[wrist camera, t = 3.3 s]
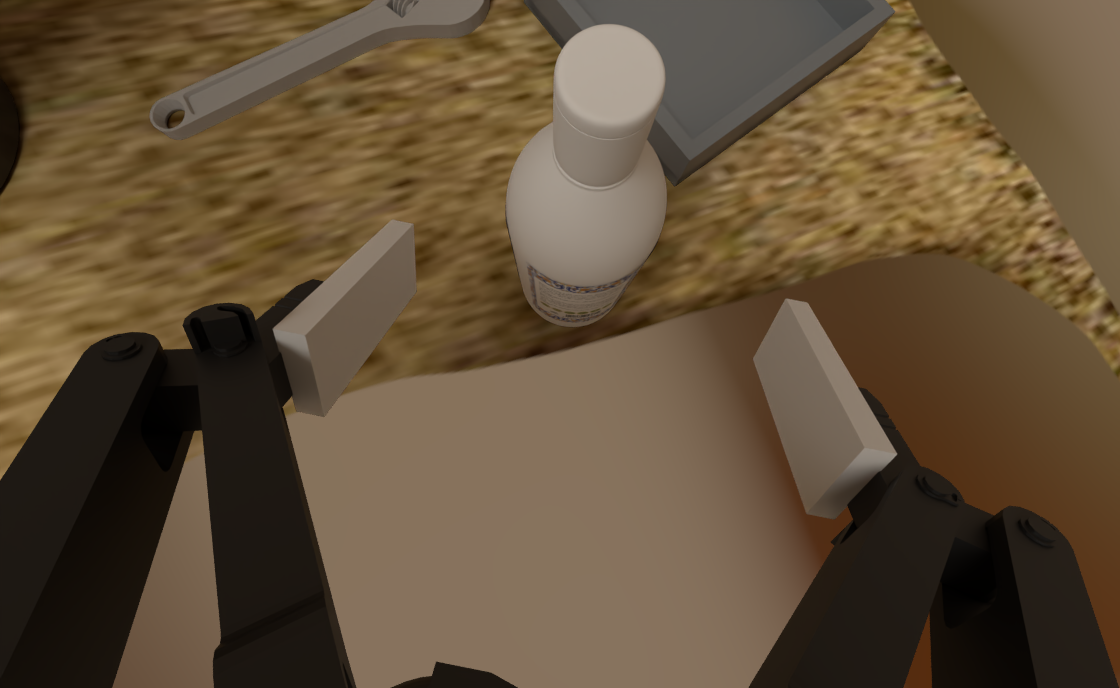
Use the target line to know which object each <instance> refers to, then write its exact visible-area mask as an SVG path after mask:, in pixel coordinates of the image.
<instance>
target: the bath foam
mask: <svg viewBox="0 0 1120 688" xmlns="http://www.w3.org/2000/svg"><path fill="white" fill-rule="evenodd" d="M665 82H666V76H665V67H664V63H663V60H662V58H661V55H660V54H659V52H658V50H657V49H656V47H655V46H654V45H653V44H652V42H651V41H650V40H649V39H647V38H646V37H645V36H644V35H642V34H641V33H639V32H638V31H636V30H634V29H631V28H629V27H626V26H622V25H616V24H602V25H596V26H593V27H590V28H587V29H585V30H583V31H581V32H579V33H577V34H576V35H575V36H573V37H572V38H571V39H570V40H569V41H568V42H567V43H566V45H565V46H564V47H563V49H562V51H561V53H560V55H559V57H558V59H557V62H556V66H555V71H554V95H553V122H552V123H550V124H548V125H547V126H545V127H544V128H543V129H541V130H540V131H539V132H538V133H537V134H536V135H535V136H534V137H533V138H532V139H531V140H530V141H529V142H528V143H527V145H526V146H525V147H524V149H523V150H522V152H521V153H520V155H519V157H518V159H517V160H516V163H515V165H514V167H513V170H512V172H511V175H510V179H509V183H508V188H507V195H506V224H507V228H508V232H509V236H510V240H511V245H512V249H513V253H514V257H515V261H516V266H517V270H518V274H519V276H520V280H521V285H522V288H523V292H524V295H525V297H526V299H527V301H528V303H529V304H530V306H531V307H532V308H533V309H534V311H535V312H536V313H538V314H539V315H540V316H541V317H542V318H544V319H545V320H547V321H549V322H551V323H554V324H556V325H560V326H565V327H580V326H585V325H589V324H591V323H594V322H596V321H598V320H599V319H601V318H602V317H604V316H605V315H606V314H607V313H608V312H609V311H610V310H611V309H612V308H613V307H614V305H615V304H616V303H617V301H618V300H619V299H620V297H621V296H622V294H623V293H624V292H625V290H626V289H627V287H628V286H629V284H630V283H631V281H632V280H633V279H634V277H635V276H636V274H637V273H638V271H639V270H640V269H641V267H642V266H643V264H644V263H645V261H646V260H647V258H648V257H649V256H650V254H651V253H652V251H653V249H654V248H655V246H656V244H657V242H658V239H659V237H660V234H661V231H662V228H663V224H664V220H665V215H666V207H667V188H666V181H665V176H664V172H663V169H662V166H661V163H660V161H659V159H658V156H657V154H656V152H655V151H654V149H653V147H652V146H651V144H650V143H649V142H648V140H647V138H648V135H649V132H650V130H651V127H652V124H653V122H654V119H655V116H656V114H657V111H658V108H659V106H660V103H661V100H662V97H663V94H664V89H665Z"/></svg>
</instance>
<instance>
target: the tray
mask: <svg viewBox="0 0 1120 688" xmlns="http://www.w3.org/2000/svg"><path fill="white" fill-rule="evenodd" d="M524 3H525V4H526V5H527V6H528V8H529V9H530V10H531V11H532V13H533V14H534V15H535V16H536V17H537V19H538V20H539V21H540V22H541V24H542V25H543V26H544V27H545V28H546V30H547V31H548V32H549V33H550V35H551V36H552V37H553V38H554V39H555V41H556V42H557V43H558V44H559V46H560V47H561V48H562V49H563V47H564V46H565V45H566V43H567V42H568V41H569V40H570V39H571V38H572V37H573V36H575V35H576V34H577V33H579V32H581V31H583V30H585V29H587V28H590V27H593V26H596V25H602V24H616V25H622V26H626V27H629V28H631V29H634V30H636V31H638V32H639V33H641V34H642V35H644V36H645V37H646V38H647V39H649V40H650V41H651V42H652V44H653V45H654V46H655V47H656V49H657V50H658V52H659V54H660V55H661V58H662V60H663V63H664V67H665V76H666V82H665V89H664V94H663V97H662V100H661V103H660V106H659V108H658V111H657V114H656V116H655V119H654V122H653V124H652V127H651V130H650V132H649V135H648V138H647V140H648V142H649V143H650V144H651V146H652V147H653V149H654V151H655V152H656V154H657V156H658V159H659V161H660V163H661V166H662V169H663V172H664V174H665V175H666V176H667V178H668V179H669V180H670V181H671V183H672V184H673V185H674V186H676V185H677V184H679V183H680V182H681V181H683V180H684V179H686V178H687V177H688V176H690V175H691V174H692V173H694V172H695V171H697V170H698V169H699V168H701V167H702V166H703V165H705V164H706V163H708V162H709V161H710V160H712V159H713V158H714V157H716V156H717V155H718V154H720V153H721V152H723V151H724V150H725V149H727V148H728V147H729V146H731V145H732V144H734V143H735V142H736V141H738V140H739V139H740V138H742V137H743V136H745V135H746V134H747V133H749V132H750V131H751V130H753V129H754V128H756V127H757V126H758V125H760V124H761V123H762V122H764V121H765V120H766V119H768V118H769V117H771V116H772V115H773V114H775V113H776V112H777V111H779V110H780V109H782V108H783V107H784V106H786V105H787V104H788V103H790V102H791V101H793V100H794V99H795V98H797V97H798V96H799V95H801V94H802V93H804V92H805V91H806V90H808V89H809V88H810V87H812V86H813V85H814V84H816V83H817V82H819V81H820V80H821V79H823V78H824V77H825V76H827V75H828V74H830V73H831V72H832V71H834V70H835V69H836V68H838V67H839V66H841V65H842V64H843V63H845V62H846V61H847V60H849V59H850V58H852V57H853V56H854V55H856V54H857V53H858V52H860V51H861V50H862V49H863V47H864V46H865V45H866V44H867V43H868V42H869V41H870V40H871V38H872V37H873V36H874V35H875V34H876V33H877V32H878V31H879V30H880V28H881V27H882V26H883V25H884V24H885V23H886V22H887V21H888V19H889V18H890V17H891V16H892V15H893V14H894V13H895V11H894V10H893V8H892V7H891V6H890V5H889V4H888V3H887V2H886V1H885V0H524Z"/></svg>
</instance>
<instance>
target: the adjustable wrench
mask: <svg viewBox="0 0 1120 688" xmlns="http://www.w3.org/2000/svg"><path fill="white" fill-rule="evenodd" d="M489 8H490V0H374V1H373V2H371V3H370V4H369V5H367V6H365V7H364V8H362V9H360V10H358V11H356V12H354V13H351V14H349V15H347V16H345V17H342V18H340V19H338V20H336V21H334V22H331V23H329V24H327V25H325V26H322V27H320V28H318V29H316V30H313V31H311V32H309V33H307V34H304V35H302V36H300V37H298V38H295V39H293V40H291V41H289V42H286V43H284V44H282V45H280V46H278V47H275V48H273V49H271V50H269V51H266V52H264V53H262V54H260V55H257V56H255V57H253V58H251V59H248V60H246V61H244V62H242V63H239V64H237V65H235V66H233V67H231V68H228V69H226V70H224V71H222V72H219V73H217V74H215V75H213V76H210V77H208V78H206V79H204V80H201V81H199V82H197V83H195V84H192V85H190V86H188V87H186V88H184V89H181V90H179V91H177V92H175V93H172V94H170V95H168V96H166V97H163V98H161V99H160V100H158V101H157V102H156V103H155V104H154V105H153V106H152V108H151V110H150V120H151V123H152V124H153V126H154V127H155V128H157V129H158V130H160V131H161V132H163V133H164V134H166V135H167V136H168V137H170V138H172V139H175V140H183V139H186V138H189V137H191V136H193V135H195V134H197V133H199V132H202V131H204V130H206V129H208V128H210V127H212V126H214V125H216V124H218V123H220V122H222V121H224V120H227V119H229V118H231V117H233V116H235V115H237V114H239V113H241V112H243V111H245V110H247V109H249V108H251V107H254V106H256V105H258V104H260V103H262V102H264V101H266V100H268V99H270V98H272V97H274V96H276V95H279V94H281V93H283V92H285V91H287V90H289V89H291V88H293V87H295V86H297V85H299V84H301V83H304V82H306V81H308V80H310V79H312V78H314V77H316V76H318V75H320V74H322V73H324V72H326V71H329V70H331V69H333V68H335V67H337V66H339V65H341V64H343V63H345V62H347V61H349V60H351V59H354V58H356V57H358V56H360V55H362V54H364V53H366V52H368V51H370V50H372V49H374V48H376V47H378V46H381V45H384V44H386V43H389V42H394V41H399V40H407V39H417V38H457V37H461V36H464V35H467V34H469V33H471V32H473V31H474V30H475V29H476V28H477V27H479V26H480V25H481V24H482V22H483V21H484V19H485V18H486V15H487V13H488V10H489ZM179 110H184V111H185V117H184V119H183V121H182V122H181V123H180V124H179V125H178V126H176V127H174V128H171V129H169V128H168V127H167V121H168V118H169V117H170V115H171V114H173V113H174V112H176V111H179Z"/></svg>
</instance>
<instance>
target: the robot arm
mask: <svg viewBox="0 0 1120 688" xmlns="http://www.w3.org/2000/svg"><path fill="white" fill-rule="evenodd" d="M18 139H19V122H18V115H17V110H16V107H15V103H14V101H13V98H12V96H11V94H10V92H9V90H8V88H7V86H6V85H5V83H4V82H3V81H2V79H1V78H0V188H1V187H2V185H3V183H4V182H5V180H6V178H7V176H8V174H9V172H10V170H11V167H12V165H13V162H14V159H15V156H16V151H17V147H18ZM416 292H417V290H416V267H415V244H414V224H412V223H407V222H402V221H397V220H391V221H390V222H389V223H388V224H387V225H385V226H384V227H383V228H382V229H381V230H380V231H379V232H378V233H377V234H376V235H375V236H373V237H372V238H371V239H370V240H369V241H368V242H367V243H366V244H365V245H364V246H363V247H361V248H360V249H359V250H358V251H357V252H356V253H355V254H354V255H353V256H352V257H350V258H349V259H348V260H347V261H346V262H345V263H344V264H343V265H342V266H341V267H340V268H338V269H337V270H336V271H335V272H334V273H333V274H332V275H331V276H330V277H329V278H328V279H326V280H325V281H319V280H314V279H312V280H310V281H307V282H305V283H303V284H300V285H298V286H296V287H295V288H294V289H292V290H291V291H290V292H289V293H288V294H287V295H285V297H284V298H282V299H281V300H279V301H278V302H277V303H276V304H275V306H272V307H271V308H270V309H269V310H268V311H267V312H265V313H264V314H263V315H262V316H261V317H260V318H258V319H257V320H256V321H255V317H254V314H253V312H252V311H251V310H250V308H248V307H246V306H244V305H242V304H235V303H220V304H214V305H210V306H205V307H202V308H200V309H198V310H196V311H194V312H192V313H191V314H190V315H189V316H187V317H186V318H185V320H184V323H183V328H184V330H185V332H186V334H187V337H188V339H189V341H190V344H191V346H192V348H193V349H173V350H163V348H162V346H161V344H160V342H159V340H158V339H157V338H156V337H155V336H154V335H151V334H147V333H140V332H130V333H123V334H117V335H113V336H110V337H107V338H105V339H102V340H100V341H99V342H97V343H95V344H93V345H91V346H90V347H89V348H88V349H87V350H86V351H85V352H84V353H83V355H82V356H81V358H80V359H79V361H78V362H77V364H76V365H75V367H74V368H73V370H72V372H71V373H70V375H69V376H68V378H67V379H66V381H65V382H64V384H63V385H62V387H61V388H60V390H59V391H58V393H57V395H56V396H55V398H54V399H53V401H52V402H51V404H50V405H49V407H48V408H47V410H46V411H45V413H44V414H43V416H42V418H41V419H40V421H39V422H38V424H37V425H36V427H35V428H34V430H33V431H32V433H31V434H30V436H29V437H28V439H27V440H26V442H25V444H24V445H23V447H22V448H21V450H20V451H19V453H18V454H17V456H16V457H15V459H14V460H13V462H12V463H11V465H10V467H9V468H8V470H7V471H6V473H5V474H4V476H3V477H2V479H1V480H0V688H112V686H113V683H114V680H115V677H116V674H117V670H118V668H119V664H120V661H121V658H122V655H123V652H124V649H125V646H126V643H127V639H128V636H129V633H130V630H131V627H132V624H133V621H134V617H135V614H136V611H137V608H138V605H139V602H140V599H141V596H142V593H143V589H144V586H145V583H146V580H147V577H148V574H149V571H150V568H151V564H152V561H153V558H154V555H155V552H156V548H157V546H158V543H159V539H160V536H161V533H162V530H163V527H164V524H165V520H166V517H167V514H168V511H169V508H170V505H171V501H172V498H173V495H174V492H175V489H176V486H177V483H178V480H179V477H180V474H181V471H182V467H183V464H184V461H185V458H186V455H187V452H188V449H189V446H190V442H191V439H192V436H193V433H194V431H199V430H202V434H203V445H204V456H205V466H206V477H207V487H208V499H209V510H210V521H211V531H212V542H213V553H214V563H215V574H216V585H217V596H218V607H219V617H220V629H221V641H220V645H219V646H218V647H217V648H216V650H215V652H214V658H213V679H214V688H356V685H355V682H354V678H353V674H352V671H351V667H350V664H349V661H348V657H347V653H346V650H345V646H344V642H343V638H342V634H341V630H340V627H339V623H338V619H337V615H336V611H335V607H334V603H333V599H332V595H331V592H330V588H329V584H328V580H327V576H326V572H325V568H324V564H323V561H322V557H321V553H320V549H319V545H318V542H317V538H316V533H315V530H314V526H313V522H312V518H311V514H310V510H309V506H308V503H307V499H306V495H305V491H304V487H303V483H302V479H301V476H300V472H299V468H298V464H297V460H296V456H295V452H294V448H293V444H292V441H291V437H290V433H289V429H288V425H287V421H286V417H285V414H284V410H283V406H284V404H285V403H286V402H287V401H288V400H289V399H290V397H291V396H292V398H293V402H294V405H295V409H296V411H297V412H303V413H308V414H312V415H317V416H322V417H325V415H326V414H327V413H328V411H329V410H330V409H331V407H332V406H333V404H334V403H335V402H336V400H337V399H338V398H339V396H340V395H341V394H342V392H343V391H344V390H345V388H346V387H347V385H348V384H349V383H350V381H351V380H352V379H353V377H354V376H355V375H356V373H357V372H358V370H359V369H360V368H361V366H362V365H363V364H364V362H365V361H366V360H367V358H368V357H369V356H370V354H371V353H372V351H373V350H374V349H375V347H376V346H377V345H378V343H379V342H380V341H381V339H382V338H383V336H384V335H385V334H386V332H387V331H388V330H389V328H390V327H391V326H392V324H393V323H394V321H395V320H396V319H397V317H398V316H399V315H400V313H401V312H402V311H403V309H404V308H405V307H406V305H407V304H408V302H409V301H410V300H411V298H412V297H413V296H414V294H415V293H416ZM753 361H754V364H755V366H756V369H757V372H758V375H759V378H760V381H761V384H762V387H763V390H764V393H765V395H766V398H767V401H768V404H769V407H770V410H771V413H772V416H773V419H774V421H775V424H776V427H777V430H778V433H779V436H780V439H781V442H782V445H783V447H784V450H785V453H786V456H787V459H788V462H789V465H790V468H791V470H792V473H793V476H794V479H795V482H796V485H797V488H798V491H799V494H800V496H801V499H802V502H803V505H804V508H805V511H806V513H807V514H810V515H815V516H821V517H825V518H831V519H836V517H837V516H838V515H839V514H840V513H841V512H842V511H843V510H844V509H845V508H846V507H847V506H848V508H849V510H850V513H851V515H852V518H853V520H852V521H851V522H850V523H849V524H848V525H847V526H846V527H845V528H844V529H843V530H842V531H841V532H840V533H839V534H838V535H837V536H836V537H835V538H834V539H833V540H832V541H831V543H832V544H833V545H835V546H834V548H833V549H832V551H831V552H830V554H829V555H828V557H827V559H826V561H825V562H824V564H823V565H822V567H821V569H820V570H819V572H818V574H817V575H816V577H815V579H814V580H813V582H812V584H811V585H810V587H809V588H808V590H807V592H806V593H805V595H804V597H803V598H802V600H801V602H800V603H799V605H798V607H797V608H796V610H795V612H794V613H793V615H792V617H791V618H790V620H789V622H788V623H787V625H786V626H785V628H784V630H783V631H782V633H781V635H780V636H779V638H778V640H777V641H776V643H775V645H774V646H773V648H772V650H771V651H770V653H769V655H768V656H767V658H766V660H765V661H764V663H763V664H762V666H761V668H760V669H759V671H758V673H757V674H756V676H755V678H754V679H753V681H752V683H751V684H750V686H749V688H903V687H904V684H905V681H906V678H907V675H908V672H909V669H910V666H911V663H912V661H913V658H914V655H915V652H916V649H917V646H918V643H919V640H920V637H921V634H922V631H923V629H924V626H925V623H926V620H927V617H928V614H929V611H930V637H931V639H930V640H931V668H932V688H1119V687H1118V683H1117V680H1116V678H1115V674H1114V672H1113V668H1112V665H1111V662H1110V659H1109V656H1108V653H1107V650H1106V648H1105V644H1104V641H1103V638H1102V635H1101V632H1100V629H1099V626H1098V623H1097V620H1096V617H1095V614H1094V611H1093V608H1092V605H1091V602H1090V599H1089V596H1088V593H1087V590H1086V587H1085V584H1084V581H1083V578H1082V575H1081V572H1080V569H1079V566H1078V563H1077V560H1076V557H1075V554H1074V551H1073V549H1072V547H1071V545H1070V543H1069V542H1068V540H1067V539H1066V538H1065V537H1064V536H1063V534H1062V533H1061V532H1059V530H1058V529H1057V528H1056V527H1055V526H1054V525H1053V524H1050V522H1049V521H1047V520H1045V519H1044V518H1043V517H1040V516H1039V515H1037V514H1035V513H1033V512H1032V511H1029V510H1026V509H1024V508H1021V507H1016V506H1008V507H1006V508H1004V509H1003V510H1001V511H1000V512H999V513H997V514H996V515H995V516H994V515H991V514H989V513H987V512H985V511H982V510H980V509H978V508H975V507H973V506H971V505H969V504H966V503H964V499H963V498H962V496H961V494H960V492H959V491H958V490H957V489H956V488H955V487H954V486H953V485H952V483H950V482H949V481H948V480H947V479H945V478H944V477H942V476H941V475H940V474H938V473H936V472H934V471H932V470H930V469H928V468H925V467H921V466H920V465H919V463H918V462H917V460H916V458H915V457H914V455H913V454H912V452H911V450H910V449H909V447H908V446H907V444H906V442H905V441H904V439H903V438H902V436H901V435H900V433H899V431H898V430H896V427H895V425H894V423H893V422H892V420H891V419H889V418H888V417H889V415H888V414H887V412H886V411H885V409H884V407H883V406H882V404H881V403H880V402H879V401H878V400H877V399H876V398H875V397H874V396H873V395H872V394H871V393H870V392H868V390H866V389H864V388H859V387H857V385H856V384H855V382H854V380H853V379H852V377H851V376H850V373H849V372H848V370H847V368H846V367H845V365H844V363H843V362H842V360H841V358H840V357H839V355H838V353H837V352H836V350H835V349H834V347H833V345H832V343H831V342H830V340H829V338H828V336H827V335H826V333H825V331H824V330H823V328H822V326H821V325H820V323H819V321H818V320H817V318H816V316H815V315H814V313H813V311H812V309H811V308H810V306H809V304H808V303H806V302H801V301H796V300H791V299H785V301H784V303H783V304H782V306H781V308H780V310H779V312H778V314H777V315H776V317H775V319H774V321H773V323H772V325H771V326H770V328H769V330H768V332H767V334H766V336H765V338H764V339H763V341H762V343H761V345H760V347H759V348H758V350H757V352H756V354H755V356H754V358H753ZM392 688H517V687H516V686H514V685H512V684H510V683H509V682H507V681H505V680H503V679H501V678H500V677H498V676H496V675H494V674H492V673H489V672H485V671H480V670H474V669H470V668H465V667H460V666H455V665H450V664H445V663H440V662H436V664H435V668H434V671H433V674H432V676H429V677H420V678H417V679H413V680H410V681H406V682H403V683H401V684H399V685H396V686H394V687H392Z"/></svg>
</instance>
